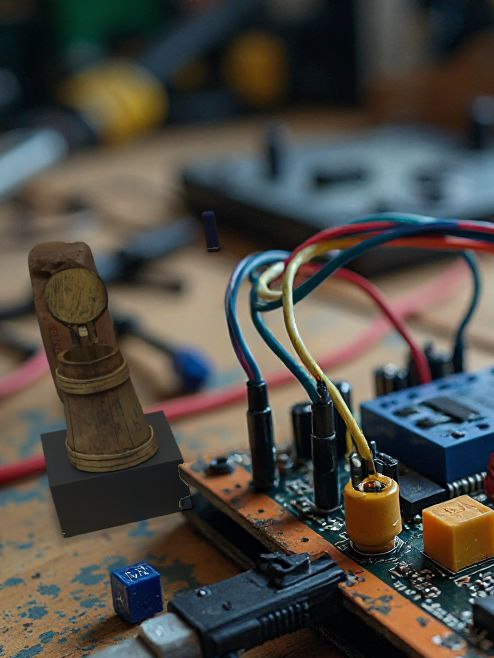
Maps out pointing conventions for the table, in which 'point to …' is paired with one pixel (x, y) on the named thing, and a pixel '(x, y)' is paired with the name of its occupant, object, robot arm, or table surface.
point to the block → (41, 267)
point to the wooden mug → (95, 379)
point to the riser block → (114, 484)
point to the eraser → (210, 230)
